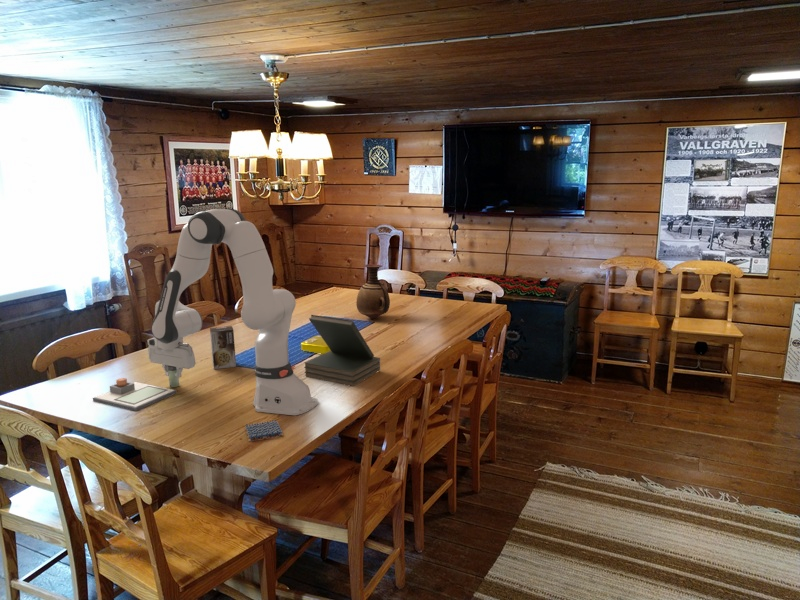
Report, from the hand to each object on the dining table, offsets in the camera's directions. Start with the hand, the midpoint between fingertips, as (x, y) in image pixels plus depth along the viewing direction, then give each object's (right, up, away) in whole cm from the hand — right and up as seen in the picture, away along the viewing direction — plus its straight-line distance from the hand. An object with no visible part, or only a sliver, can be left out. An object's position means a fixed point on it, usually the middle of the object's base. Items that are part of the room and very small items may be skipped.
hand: (173, 376), depth 215 cm
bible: (+62, -1, +14) cm, 64 cm away
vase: (+70, +18, +101) cm, 125 cm away
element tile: (+49, +6, +47) cm, 68 cm away
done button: (-16, -2, -8) cm, 18 cm away
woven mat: (+43, -13, -38) cm, 59 cm away
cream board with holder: (-10, -6, -10) cm, 15 cm away
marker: (0, -4, +1) cm, 4 cm away
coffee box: (+12, +1, +23) cm, 26 cm away
